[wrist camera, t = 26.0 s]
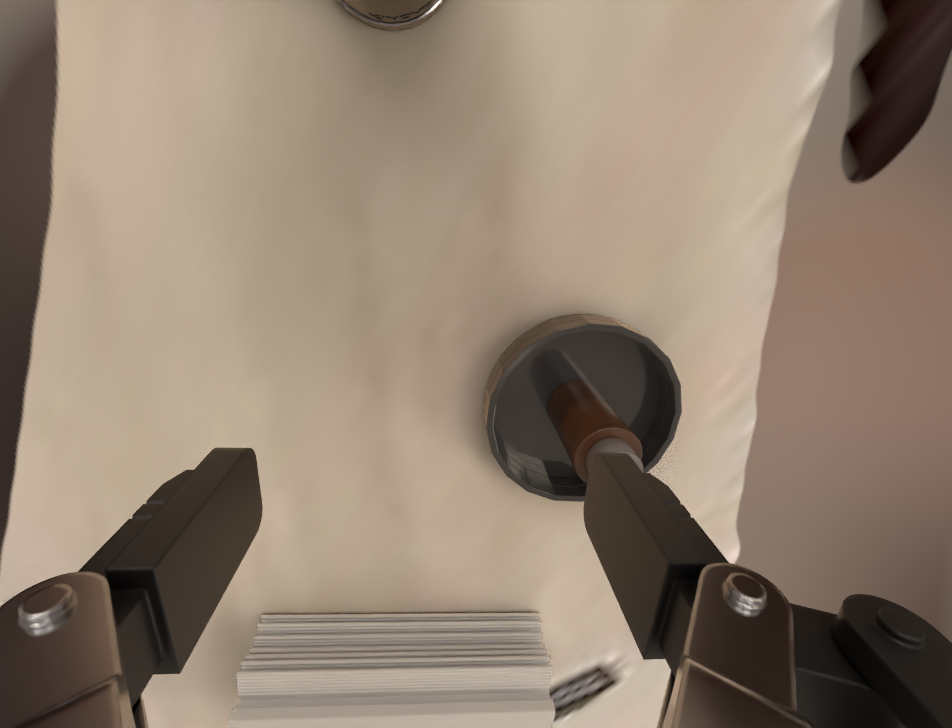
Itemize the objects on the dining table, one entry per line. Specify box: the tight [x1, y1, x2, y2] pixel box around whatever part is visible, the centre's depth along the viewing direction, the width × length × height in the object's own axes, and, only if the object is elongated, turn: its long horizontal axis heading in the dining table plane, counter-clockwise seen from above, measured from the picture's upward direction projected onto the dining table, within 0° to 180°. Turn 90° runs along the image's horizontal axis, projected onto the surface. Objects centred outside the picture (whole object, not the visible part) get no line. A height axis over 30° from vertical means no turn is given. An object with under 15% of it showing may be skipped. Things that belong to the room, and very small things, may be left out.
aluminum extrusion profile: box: [227, 613, 555, 728], centre depth 47 cm, size 14×31×10 cm, turn 86°
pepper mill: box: [547, 381, 643, 484], centre depth 36 cm, size 5×5×11 cm
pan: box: [483, 314, 682, 502], centre depth 40 cm, size 17×17×4 cm
